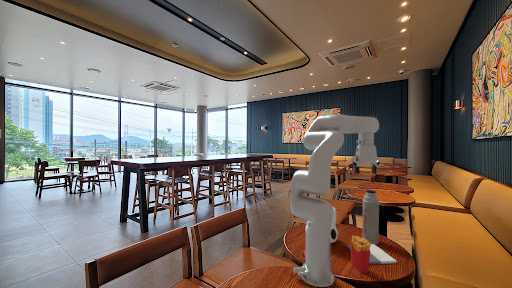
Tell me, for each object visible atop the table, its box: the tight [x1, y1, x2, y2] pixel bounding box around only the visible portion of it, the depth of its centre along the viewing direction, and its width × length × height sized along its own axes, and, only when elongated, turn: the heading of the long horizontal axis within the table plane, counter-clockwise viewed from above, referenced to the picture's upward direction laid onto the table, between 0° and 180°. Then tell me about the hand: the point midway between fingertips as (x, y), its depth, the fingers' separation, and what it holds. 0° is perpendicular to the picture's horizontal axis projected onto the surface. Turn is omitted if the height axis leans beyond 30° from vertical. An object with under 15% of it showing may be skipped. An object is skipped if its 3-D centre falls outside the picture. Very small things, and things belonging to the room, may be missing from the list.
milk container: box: [305, 206, 339, 245], centre depth 118 cm, size 17×17×18 cm
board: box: [346, 244, 397, 265], centre depth 103 cm, size 15×16×1 cm
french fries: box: [350, 235, 371, 274], centre depth 91 cm, size 9×4×13 cm, turn 21°
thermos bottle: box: [361, 189, 380, 245], centre depth 118 cm, size 8×8×28 cm
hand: (365, 173), depth 117 cm, fingers open, 9 cm apart
